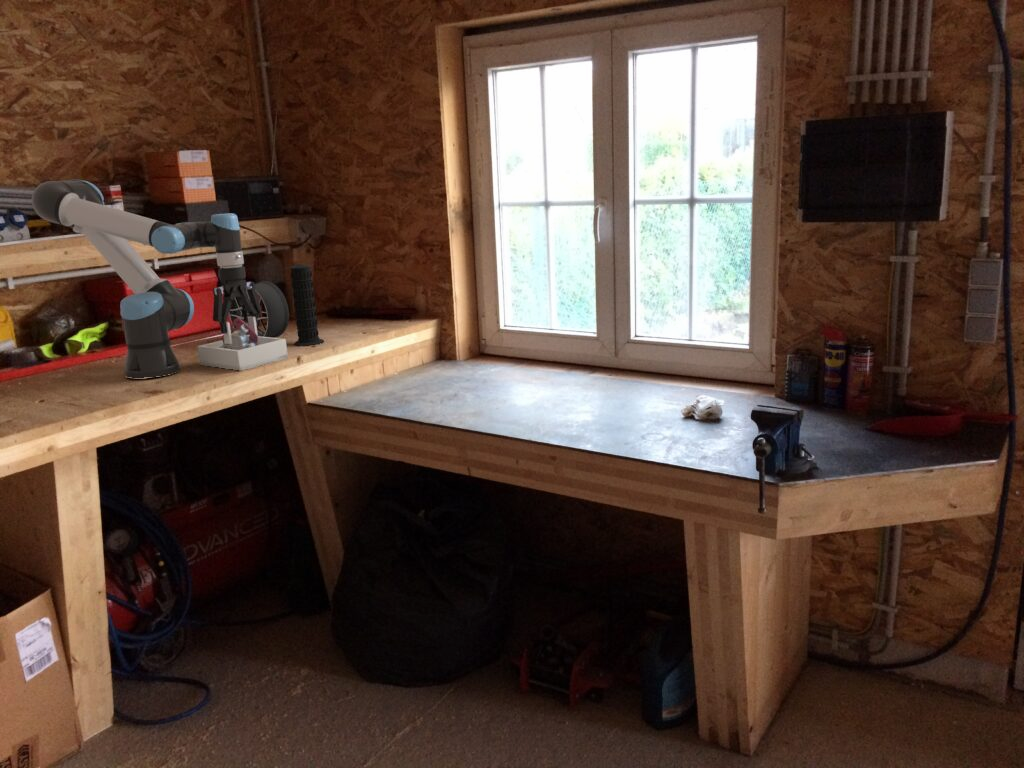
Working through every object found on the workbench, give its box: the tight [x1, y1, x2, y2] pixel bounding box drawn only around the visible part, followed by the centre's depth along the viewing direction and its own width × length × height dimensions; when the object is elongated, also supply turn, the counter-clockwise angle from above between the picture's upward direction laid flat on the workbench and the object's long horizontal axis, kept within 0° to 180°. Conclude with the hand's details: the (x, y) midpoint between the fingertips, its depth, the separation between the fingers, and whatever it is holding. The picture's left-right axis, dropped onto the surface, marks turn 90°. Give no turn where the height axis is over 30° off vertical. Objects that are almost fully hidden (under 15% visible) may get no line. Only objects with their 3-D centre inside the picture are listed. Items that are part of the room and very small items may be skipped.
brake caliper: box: [219, 318, 259, 350], centre depth 260 cm, size 11×11×12 cm
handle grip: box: [289, 263, 325, 347], centre depth 283 cm, size 10×26×10 cm
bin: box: [197, 335, 289, 372], centre depth 262 cm, size 18×19×6 cm
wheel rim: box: [228, 280, 290, 338], centre depth 293 cm, size 20×9×20 cm, turn 56°
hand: (241, 340), depth 261 cm, fingers closed on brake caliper, 9 cm apart
